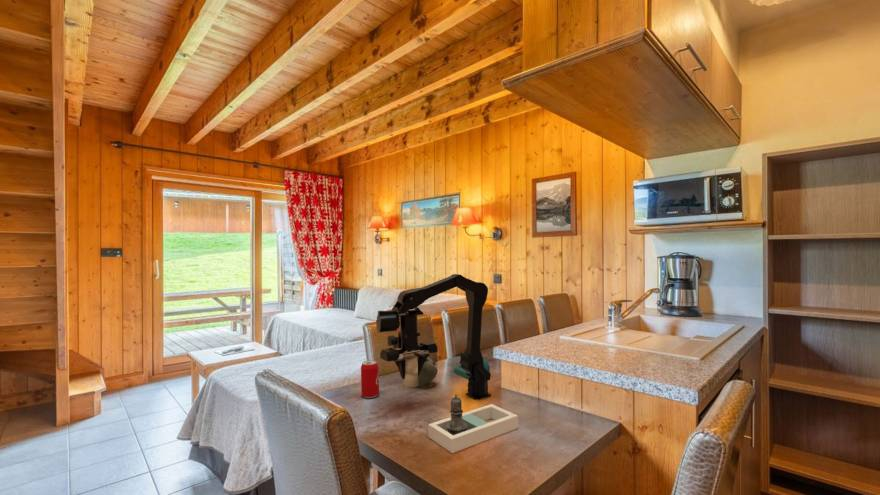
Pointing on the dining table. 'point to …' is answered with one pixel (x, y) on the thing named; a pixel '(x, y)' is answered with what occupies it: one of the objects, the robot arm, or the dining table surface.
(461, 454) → the dining table surface
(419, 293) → the robot arm
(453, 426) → the salt shaker
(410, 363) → the wooden peg
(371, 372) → the beverage can
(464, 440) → the housing
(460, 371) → the bracket
